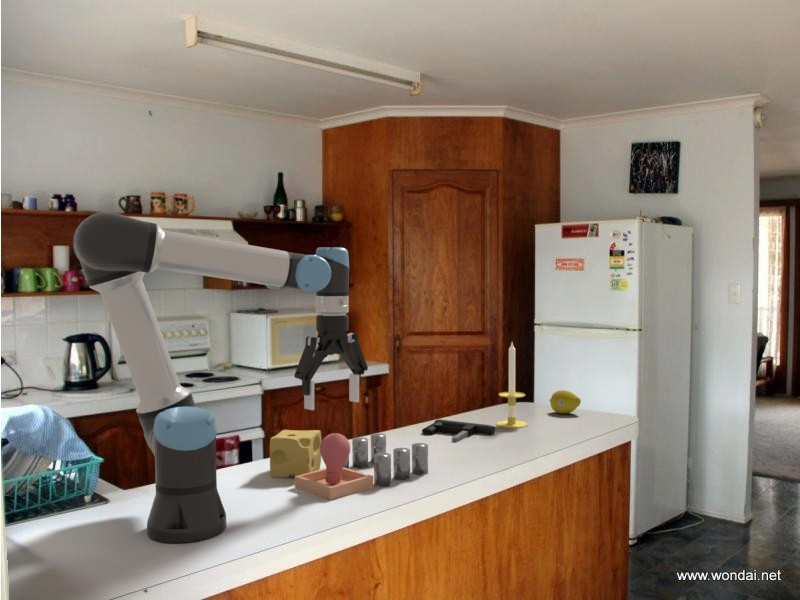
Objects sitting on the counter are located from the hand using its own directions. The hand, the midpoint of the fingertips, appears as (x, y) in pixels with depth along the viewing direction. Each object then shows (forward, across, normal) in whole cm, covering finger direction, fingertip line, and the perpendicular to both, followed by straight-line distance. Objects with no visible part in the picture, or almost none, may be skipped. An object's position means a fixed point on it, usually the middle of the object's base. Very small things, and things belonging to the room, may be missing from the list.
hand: (332, 405), depth 174 cm
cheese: (+20, +1, +16) cm, 25 cm away
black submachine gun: (+20, +60, +13) cm, 64 cm away
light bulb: (+19, 0, 0) cm, 19 cm away
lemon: (+18, +108, +6) cm, 110 cm away
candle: (+19, +82, +9) cm, 85 cm away
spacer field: (+19, +16, +1) cm, 25 cm away
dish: (+19, 0, 0) cm, 19 cm away
